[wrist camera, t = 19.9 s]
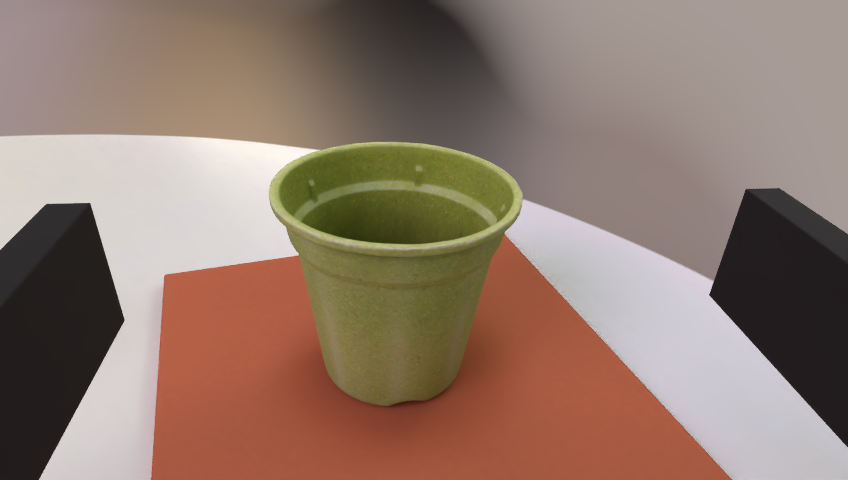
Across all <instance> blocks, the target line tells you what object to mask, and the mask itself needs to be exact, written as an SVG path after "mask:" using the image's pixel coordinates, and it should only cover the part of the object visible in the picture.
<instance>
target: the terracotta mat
mask: <svg viewBox="0 0 848 480" xmlns="http://www.w3.org/2000/svg"><path fill="white" fill-rule="evenodd" d="M151 480H732V479H731V478H730V477H729V476H728V475H727V474H726V473H725V472H724V471H723V470H722V469H721V467H720V466H719V465H718V464H717V463H716V462H715V461H714V460H713V459H712V458H711V457H710V456H709V455H708V453H707V452H706V451H705V450H704V449H703V448H702V447H701V446H700V445H699V444H698V443H697V442H696V440H695V439H694V438H693V437H692V436H691V435H690V434H689V433H688V432H687V431H686V430H685V429H684V428H683V426H682V425H681V424H680V423H679V422H678V421H677V420H676V419H675V418H674V417H673V416H672V415H671V414H670V412H669V411H668V410H667V409H666V408H665V407H664V406H663V405H662V404H661V403H660V402H659V401H658V399H657V398H656V397H655V396H654V395H653V394H652V393H651V392H650V391H649V390H648V389H647V388H646V387H645V385H644V384H643V383H642V382H641V381H640V380H639V379H638V378H637V377H636V376H635V375H634V374H633V372H632V371H631V370H630V369H629V368H628V367H627V366H626V365H625V364H624V363H623V362H622V361H621V360H620V358H619V357H618V356H617V355H616V354H615V353H614V352H613V351H612V350H611V349H610V348H609V347H608V346H607V344H606V343H605V342H604V341H603V340H602V339H601V338H600V337H599V336H598V335H597V334H596V333H595V331H594V330H593V329H592V328H591V327H590V326H589V325H588V324H587V323H586V322H585V321H584V320H583V319H582V317H581V316H580V315H579V314H578V313H577V312H576V311H575V310H574V309H573V308H572V307H571V306H570V304H569V303H568V302H567V301H566V300H565V299H564V298H563V297H562V296H561V295H560V294H559V293H558V292H557V290H556V289H555V288H554V287H553V286H552V285H551V284H550V283H549V282H548V281H547V280H546V279H545V277H544V276H543V275H542V274H541V273H540V272H539V271H538V270H537V269H536V268H535V267H534V266H533V265H532V263H531V262H530V261H529V260H528V259H527V258H526V257H525V256H524V255H523V254H522V253H521V252H520V251H519V249H518V248H517V247H516V246H515V245H514V244H513V243H512V242H511V241H510V240H509V239H508V238H507V236H506V235H505V234H504V236H503V240H502V242H501V244H500V246H499V248H498V250H497V251H496V252H495V254H494V255H493V256H492V259H491V262H490V266H489V269H488V272H487V276H486V279H485V282H484V285H483V289H482V292H481V295H480V299H479V302H478V306H477V310H476V313H475V317H474V320H473V324H472V327H471V331H470V334H469V338H468V341H467V345H466V349H465V352H464V356H463V359H462V363H461V366H460V369H459V372H458V374H457V376H456V378H455V379H454V381H453V382H452V384H451V385H450V386H449V387H447V388H446V389H445V390H444V391H443V392H441V393H440V394H438V395H437V396H435V397H433V398H431V399H428V400H426V401H417V400H410V401H404V402H399V403H396V404H393V405H391V406H380V405H374V404H370V403H366V402H363V401H361V400H358V399H356V398H353V397H351V396H350V395H348V394H346V393H345V392H344V391H342V390H341V389H340V388H339V387H337V386H336V385H335V384H334V382H333V381H332V380H331V378H330V376H329V374H328V372H327V369H326V366H325V363H324V359H323V355H322V351H321V346H320V342H319V337H318V333H317V328H316V324H315V319H314V315H313V311H312V306H311V301H310V297H309V293H308V289H307V285H306V281H305V277H304V273H303V269H302V265H301V261H300V257H299V256H293V257H286V258H279V259H272V260H265V261H258V262H251V263H244V264H237V265H230V266H223V267H216V268H209V269H202V270H195V271H188V272H181V273H174V274H168V275H165V276H164V290H163V306H162V321H161V337H160V352H159V368H158V383H157V399H156V414H155V430H154V445H153V461H152V477H151Z"/></svg>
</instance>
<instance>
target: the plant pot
mask: <svg viewBox="0 0 848 480" xmlns="http://www.w3.org/2000/svg"><path fill="white" fill-rule="evenodd" d="M269 199H270V205H271V208H272V210H273V212H274V214H275V216H276V217H277V218H278V219H279V221H280V222H281V223H282V224H283V225H285V226H286V228H287V232H288V235H289V238H290V241H291V243H292V245H293V246H294V248H295V249H296V251H297V252H298V253H299V257H300V261H301V265H302V269H303V273H304V277H305V281H306V285H307V289H308V293H309V297H310V301H311V306H312V311H313V315H314V319H315V324H316V328H317V333H318V337H319V342H320V346H321V351H322V355H323V359H324V363H325V366H326V369H327V372H328V374H329V376H330V378H331V380H332V381H333V382H334V384H335V385H336V386H337V387H339V388H340V389H341V390H342V391H344V392H345V393H346V394H348V395H350V396H351V397H353V398H356V399H358V400H361V401H363V402H366V403H370V404H374V405H380V406H391V405H393V404H396V403H399V402H404V401H410V400H417V401H426V400H428V399H431V398H433V397H435V396H437V395H438V394H440V393H441V392H443V391H444V390H445V389H446V388H447V387H449V386H450V385H451V384H452V382H453V381H454V379H455V378H456V376H457V374H458V372H459V369H460V366H461V363H462V359H463V356H464V352H465V349H466V345H467V341H468V338H469V334H470V331H471V327H472V324H473V320H474V317H475V313H476V310H477V306H478V302H479V299H480V295H481V292H482V289H483V285H484V282H485V279H486V276H487V272H488V269H489V266H490V262H491V259H492V256H493V255H494V254H495V252H496V251H497V250H498V248H499V246H500V244H501V242H502V240H503V236H504V233H505V231H506V230H507V229H508V228H509V227H510V226H511V225H512V224H513V223H514V222H515V221H516V219H517V217H518V216H519V214H520V210H521V207H522V200H523V196H522V192H521V190H520V188H519V186H518V184H517V182H516V181H515V180H514V179H513V178H512V177H511V176H510V175H508V173H506V172H505V171H504V170H503V169H501V168H500V167H498V166H496V165H494V164H492V163H490V162H488V161H486V160H484V159H481V158H479V157H477V156H474V155H470V154H468V153H464V152H461V151H457V150H453V149H449V148H445V147H440V146H435V145H428V144H420V143H418V144H416V143H403V142H368V143H357V144H350V145H343V146H338V147H332V148H328V149H324V150H321V151H316V152H313V153H310V154H307V155H305V156H302V157H300V158H298V159H296V160H294V161H292V162H290V163H289V164H287V165H286V166H285V167H284V168H283V169H281V170H280V171H279V172H278V173H277V174H276V176H275V177H274V178H273V180H272V182H271V185H270V189H269Z"/></svg>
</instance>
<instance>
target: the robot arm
mask: <svg viewBox="0 0 848 480" xmlns="http://www.w3.org/2000/svg"><path fill="white" fill-rule="evenodd" d="M709 295H710V296H711V298H712V299H713V300H714V301H715V302H716V303H717V304H718V305H719V306H720V307H721V309H722V310H723V311H724V312H725V313H726V314H727V315H728V316H729V317H730V318H731V320H732V321H733V322H734V323H735V324H736V325H737V326H738V327H739V328H740V329H741V331H742V332H743V333H744V334H745V335H746V336H747V337H748V338H749V339H750V340H751V342H752V343H753V344H754V345H755V346H756V347H757V348H758V349H759V350H760V351H761V353H762V354H763V355H764V356H765V357H766V358H767V359H768V360H769V361H770V362H771V364H772V365H773V366H774V367H775V368H776V369H777V370H778V371H779V372H780V373H781V375H782V376H783V377H784V378H785V379H786V380H787V381H788V382H789V383H790V384H791V386H792V387H793V388H794V389H795V390H796V391H797V392H798V393H799V394H800V395H801V397H802V398H803V399H804V400H805V401H806V402H807V403H808V404H809V405H810V406H811V408H812V409H813V410H814V411H815V412H816V413H817V414H818V415H819V416H820V417H821V418H822V420H823V421H824V422H825V423H826V424H827V425H828V426H829V427H830V428H831V429H832V431H833V432H834V433H835V434H836V435H837V436H838V437H839V438H840V439H841V440H842V442H843V443H844V444H845V445H846V446H847V447H848V234H847V233H845V232H844V231H842V230H840V229H839V228H838V227H836V226H835V225H833V224H832V223H830V222H829V221H827V220H826V219H824V218H823V217H821V216H820V215H818V214H817V213H815V212H814V211H812V210H811V209H809V208H808V207H806V206H805V205H803V204H802V203H800V202H799V201H797V200H796V199H794V198H793V197H791V196H790V195H788V194H787V193H785V192H784V191H782V190H781V189H779V188H777V189H775V188H774V189H746V190H745V193H744V196H743V199H742V202H741V205H740V208H739V211H738V213H737V216H736V219H735V222H734V225H733V228H732V231H731V234H730V237H729V239H728V243H727V246H726V249H725V251H724V254H723V257H722V260H721V263H720V266H719V268H718V271H717V274H716V277H715V280H714V283H713V286H712V289H711V292H710V294H709ZM123 322H124V316H123V313H122V310H121V306H120V303H119V299H118V296H117V293H116V289H115V286H114V282H113V279H112V276H111V272H110V269H109V266H108V262H107V259H106V255H105V252H104V249H103V245H102V242H101V238H100V235H99V232H98V228H97V225H96V221H95V218H94V215H93V211H92V208H91V204H90V203H73V204H46V205H45V206H44V207H43V208H42V209H41V210H40V211H39V212H38V213H37V214H36V215H35V216H34V217H33V218H32V219H31V220H30V221H29V222H28V223H27V224H26V225H25V226H24V227H23V228H22V229H21V230H20V231H19V232H18V233H17V234H16V235H15V236H14V237H13V238H12V239H11V240H10V241H9V242H8V243H7V244H6V245H5V246H4V247H3V248H2V249H1V250H0V480H39V478H40V476H41V475H42V473H43V471H44V469H45V467H46V465H47V463H48V462H49V460H50V458H51V456H52V454H53V452H54V450H55V449H56V447H57V445H58V443H59V441H60V439H61V437H62V436H63V434H64V432H65V430H66V428H67V426H68V424H69V423H70V421H71V419H72V417H73V415H74V413H75V411H76V410H77V408H78V406H79V404H80V402H81V400H82V398H83V397H84V395H85V393H86V391H87V389H88V387H89V385H90V384H91V382H92V380H93V378H94V376H95V374H96V372H97V371H98V369H99V367H100V365H101V363H102V361H103V359H104V357H105V356H106V354H107V352H108V350H109V348H110V346H111V344H112V343H113V341H114V339H115V337H116V335H117V333H118V331H119V330H120V328H121V326H122V324H123Z"/></svg>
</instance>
